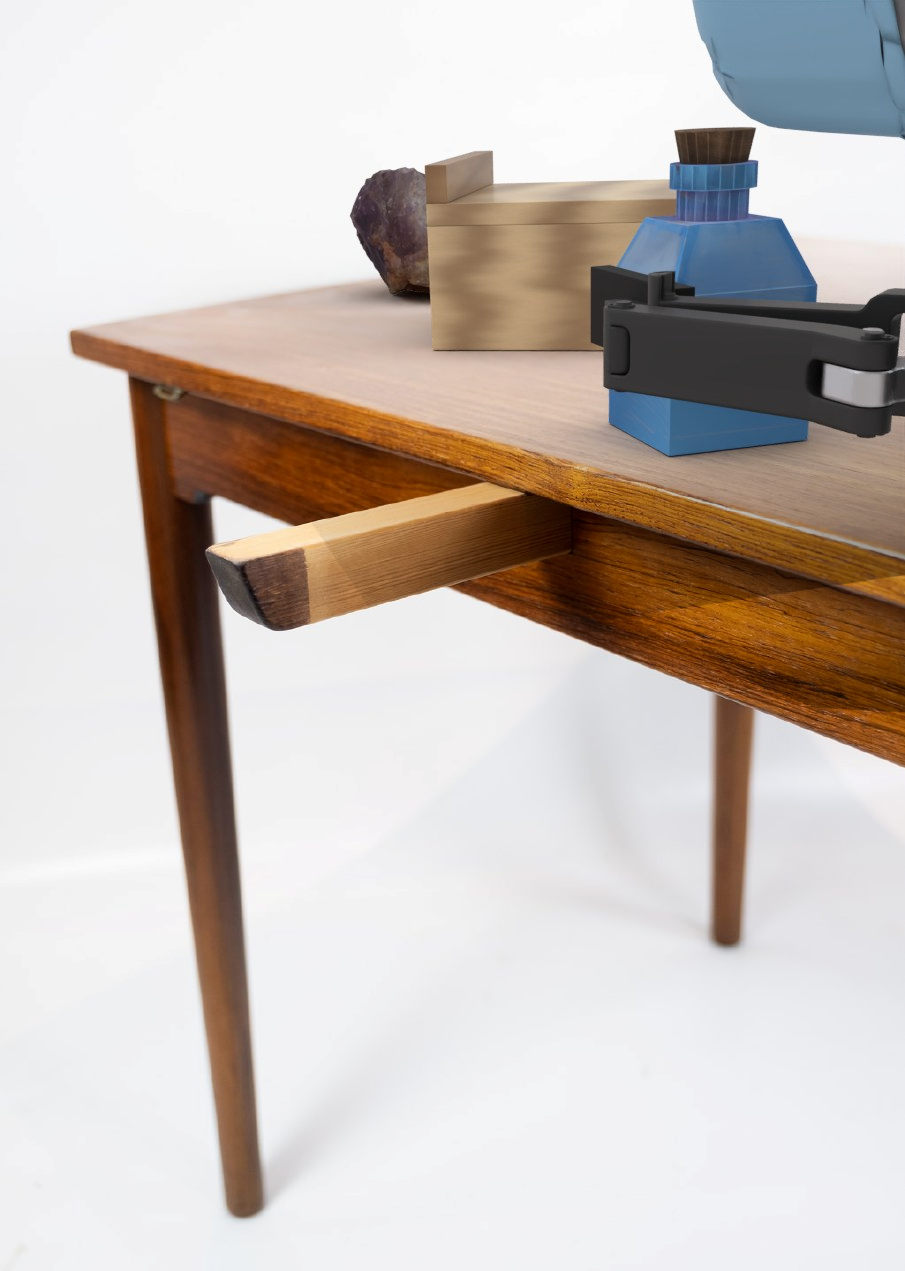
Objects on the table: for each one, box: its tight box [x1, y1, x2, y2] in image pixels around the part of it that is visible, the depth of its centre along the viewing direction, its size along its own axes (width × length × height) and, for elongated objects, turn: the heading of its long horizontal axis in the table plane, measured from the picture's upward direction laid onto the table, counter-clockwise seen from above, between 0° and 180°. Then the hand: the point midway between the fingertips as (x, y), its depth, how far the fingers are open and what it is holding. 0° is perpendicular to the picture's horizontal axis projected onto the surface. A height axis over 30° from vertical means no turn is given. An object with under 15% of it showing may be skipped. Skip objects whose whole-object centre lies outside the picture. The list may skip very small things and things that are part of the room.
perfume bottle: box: [608, 126, 818, 457], centre depth 54 cm, size 6×6×12 cm
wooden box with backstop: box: [424, 150, 677, 351], centre depth 79 cm, size 16×14×10 cm
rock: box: [349, 166, 430, 295], centre depth 96 cm, size 12×9×10 cm
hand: (765, 288), depth 50 cm, fingers open, 13 cm apart
